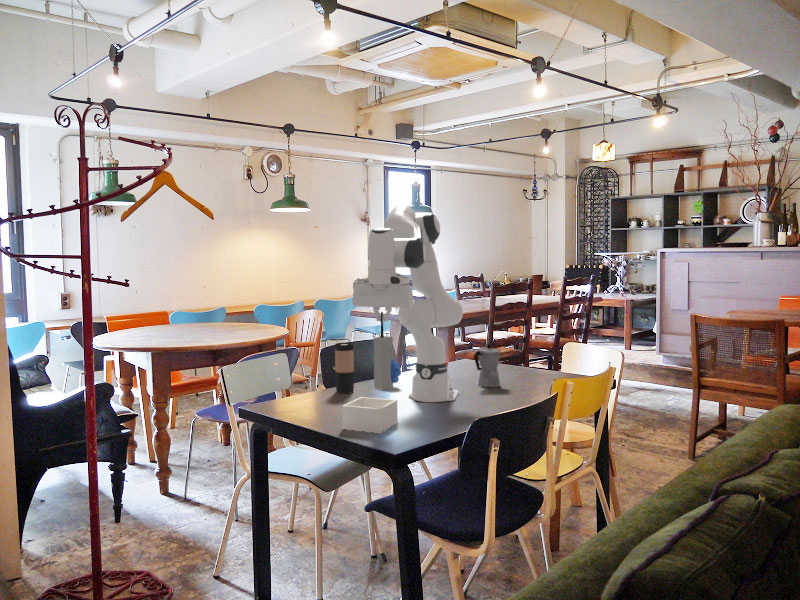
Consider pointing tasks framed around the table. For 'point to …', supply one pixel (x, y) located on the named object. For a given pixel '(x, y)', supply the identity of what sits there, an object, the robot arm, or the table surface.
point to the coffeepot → (488, 366)
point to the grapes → (395, 371)
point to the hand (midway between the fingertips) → (382, 321)
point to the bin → (369, 414)
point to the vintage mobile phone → (382, 360)
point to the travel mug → (344, 367)
